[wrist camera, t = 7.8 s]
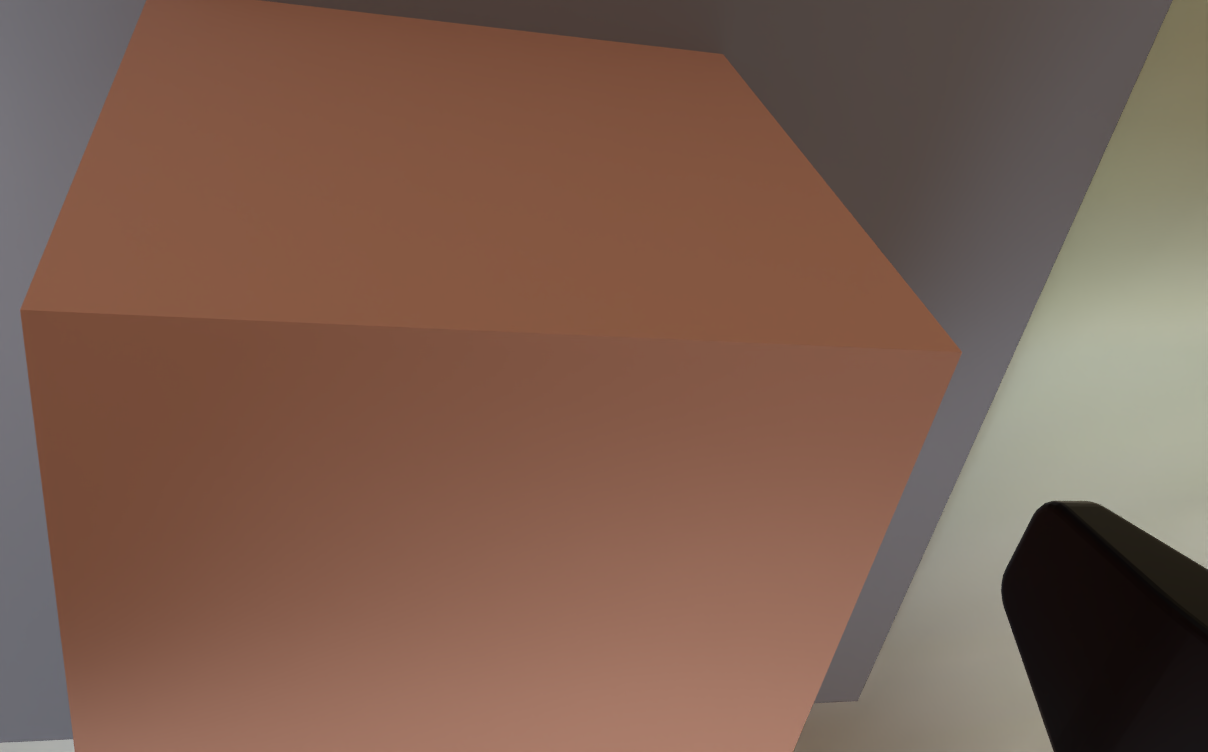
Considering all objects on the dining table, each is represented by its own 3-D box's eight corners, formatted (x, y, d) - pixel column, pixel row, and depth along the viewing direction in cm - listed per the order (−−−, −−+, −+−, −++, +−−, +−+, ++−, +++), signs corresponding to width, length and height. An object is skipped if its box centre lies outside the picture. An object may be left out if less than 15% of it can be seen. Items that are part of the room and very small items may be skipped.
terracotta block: (623, 466, 13) (749, 854, 9) (170, 460, 12) (94, 908, 8) (723, 54, 11) (962, 352, 7) (151, -12, 9) (18, 309, 5)
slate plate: (838, 659, 18) (857, 700, 17) (-196, 698, 14) (-221, 753, 13) (1297, -429, 10) (1365, -429, 9) (-741, -974, 6) (-864, -1038, 6)
